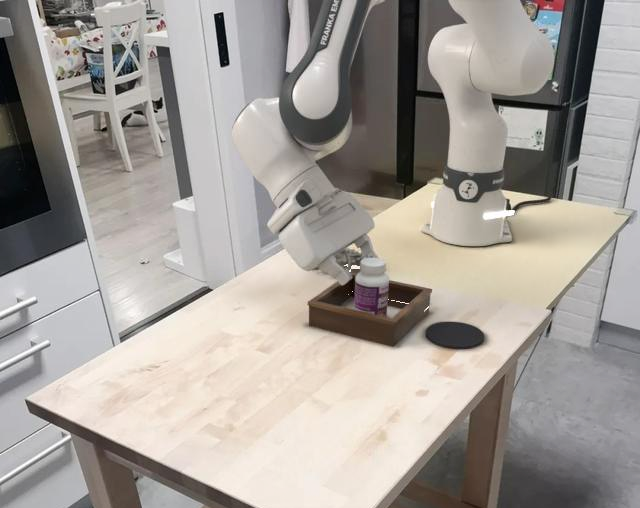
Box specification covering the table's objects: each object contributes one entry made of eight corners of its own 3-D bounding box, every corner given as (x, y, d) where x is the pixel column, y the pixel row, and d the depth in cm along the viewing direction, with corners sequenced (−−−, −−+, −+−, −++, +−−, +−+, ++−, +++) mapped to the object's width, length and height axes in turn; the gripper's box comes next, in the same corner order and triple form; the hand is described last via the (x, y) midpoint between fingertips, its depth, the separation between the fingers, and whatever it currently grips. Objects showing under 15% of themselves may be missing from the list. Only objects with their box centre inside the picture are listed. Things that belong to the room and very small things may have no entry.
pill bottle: (384, 327, 113) (388, 269, 108) (351, 324, 114) (353, 266, 109) (388, 313, 118) (392, 257, 112) (356, 310, 118) (359, 254, 113)
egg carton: (302, 266, 136) (301, 244, 133) (331, 257, 140) (331, 236, 138) (340, 281, 129) (341, 260, 127) (370, 272, 133) (371, 250, 131)
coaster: (431, 320, 116) (431, 318, 116) (487, 328, 113) (488, 326, 113) (420, 343, 109) (420, 341, 108) (479, 353, 106) (479, 350, 106)
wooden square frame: (349, 294, 124) (350, 271, 122) (430, 312, 118) (432, 288, 116) (307, 326, 113) (307, 301, 111) (393, 347, 107) (395, 322, 105)
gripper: (326, 197, 121) (375, 263, 122) (260, 229, 106) (317, 304, 107) (351, 173, 117) (401, 242, 118) (286, 203, 101) (345, 282, 103)
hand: (361, 272), depth 112 cm, fingers open, 8 cm apart
